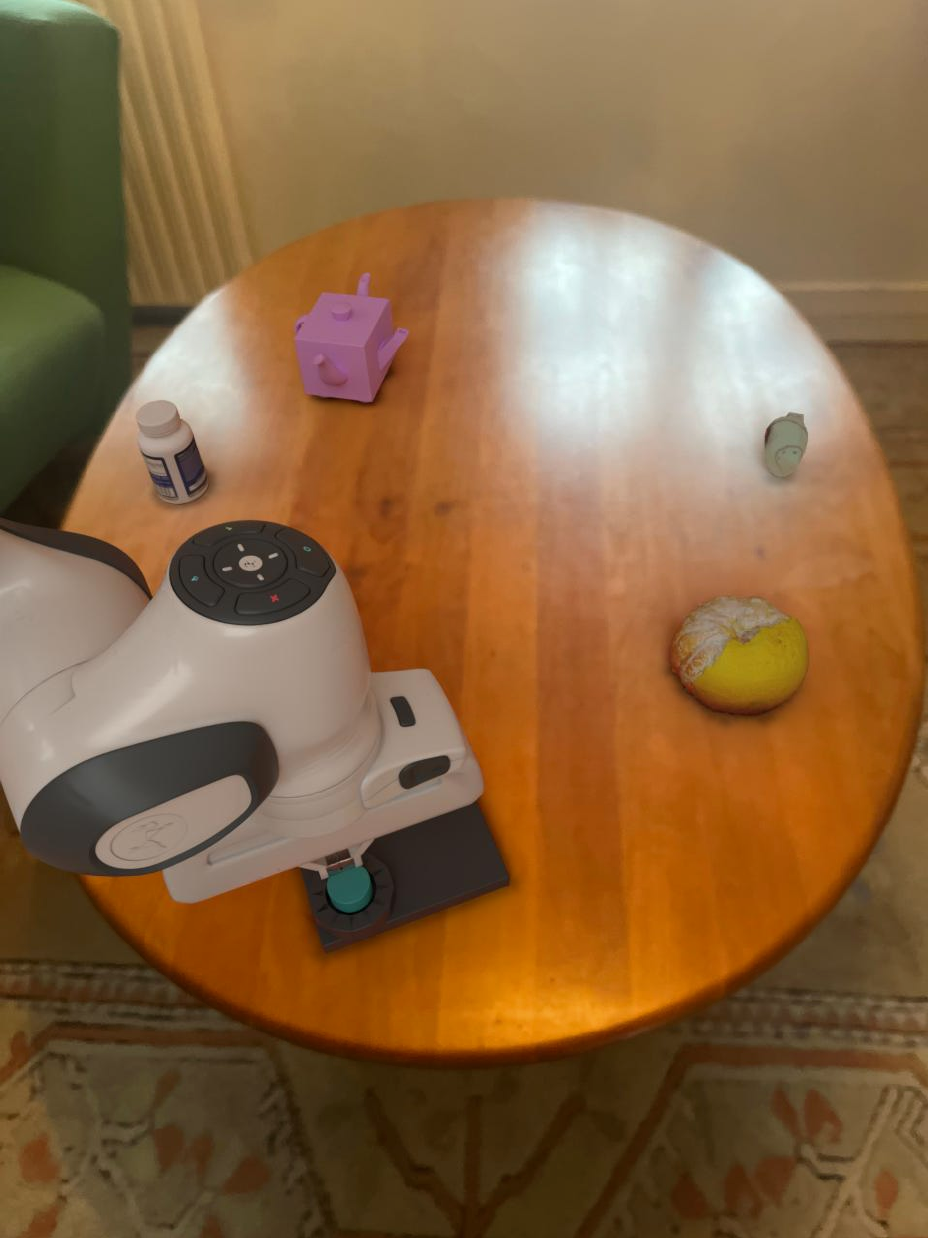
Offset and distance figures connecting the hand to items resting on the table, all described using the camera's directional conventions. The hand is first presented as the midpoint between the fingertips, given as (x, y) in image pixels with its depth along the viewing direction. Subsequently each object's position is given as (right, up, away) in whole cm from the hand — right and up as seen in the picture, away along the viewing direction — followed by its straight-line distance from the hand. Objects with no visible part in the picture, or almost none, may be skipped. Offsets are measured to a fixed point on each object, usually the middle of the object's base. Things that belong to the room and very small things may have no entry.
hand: (339, 863), depth 64 cm
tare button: (+1, -3, +3) cm, 4 cm away
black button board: (+3, -1, +8) cm, 8 cm away
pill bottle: (-21, +30, +35) cm, 51 cm away
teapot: (-4, +44, +45) cm, 63 cm away
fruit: (+31, +12, +17) cm, 38 cm away
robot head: (+40, +31, +33) cm, 60 cm away
